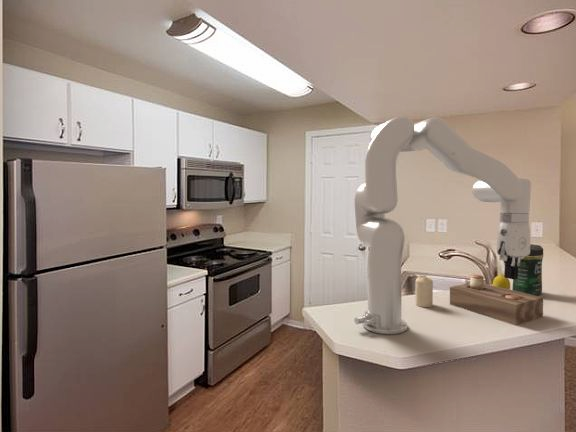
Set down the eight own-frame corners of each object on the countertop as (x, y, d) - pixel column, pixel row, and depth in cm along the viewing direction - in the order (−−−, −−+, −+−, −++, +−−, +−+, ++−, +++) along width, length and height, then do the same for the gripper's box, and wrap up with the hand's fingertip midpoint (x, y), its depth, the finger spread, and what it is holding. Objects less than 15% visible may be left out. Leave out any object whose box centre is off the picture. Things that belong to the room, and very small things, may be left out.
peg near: (515, 317, 106) (515, 299, 105) (502, 314, 109) (502, 296, 109) (522, 315, 107) (523, 297, 107) (509, 311, 111) (510, 294, 111)
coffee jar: (530, 298, 125) (532, 247, 124) (508, 292, 132) (509, 244, 131) (546, 294, 129) (547, 244, 128) (524, 289, 136) (525, 242, 135)
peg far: (478, 294, 116) (478, 278, 116) (467, 292, 120) (467, 275, 119) (485, 293, 118) (486, 276, 117) (474, 290, 121) (475, 274, 121)
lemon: (498, 298, 126) (499, 276, 125) (489, 294, 131) (489, 273, 131) (513, 298, 126) (514, 276, 125) (503, 293, 131) (504, 272, 131)
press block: (515, 325, 101) (515, 304, 100) (449, 304, 120) (449, 287, 120) (542, 316, 107) (543, 297, 107) (476, 298, 127) (476, 281, 126)
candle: (434, 307, 117) (434, 278, 116) (416, 307, 118) (416, 278, 118) (430, 302, 122) (430, 274, 122) (414, 302, 124) (414, 274, 123)
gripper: (511, 220, 100) (508, 283, 101) (541, 219, 106) (537, 278, 107) (486, 218, 106) (483, 278, 107) (516, 217, 113) (512, 273, 114)
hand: (510, 278), depth 107 cm, fingers closed
